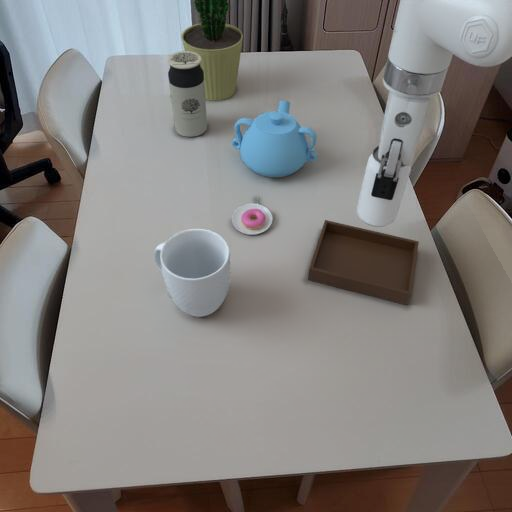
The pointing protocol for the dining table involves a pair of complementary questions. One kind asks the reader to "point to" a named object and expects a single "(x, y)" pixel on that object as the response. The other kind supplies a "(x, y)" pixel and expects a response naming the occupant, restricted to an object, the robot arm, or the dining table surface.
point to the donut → (252, 219)
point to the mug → (195, 270)
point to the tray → (365, 262)
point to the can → (377, 208)
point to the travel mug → (187, 93)
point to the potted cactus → (215, 48)
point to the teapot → (274, 143)
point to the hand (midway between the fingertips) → (385, 181)
